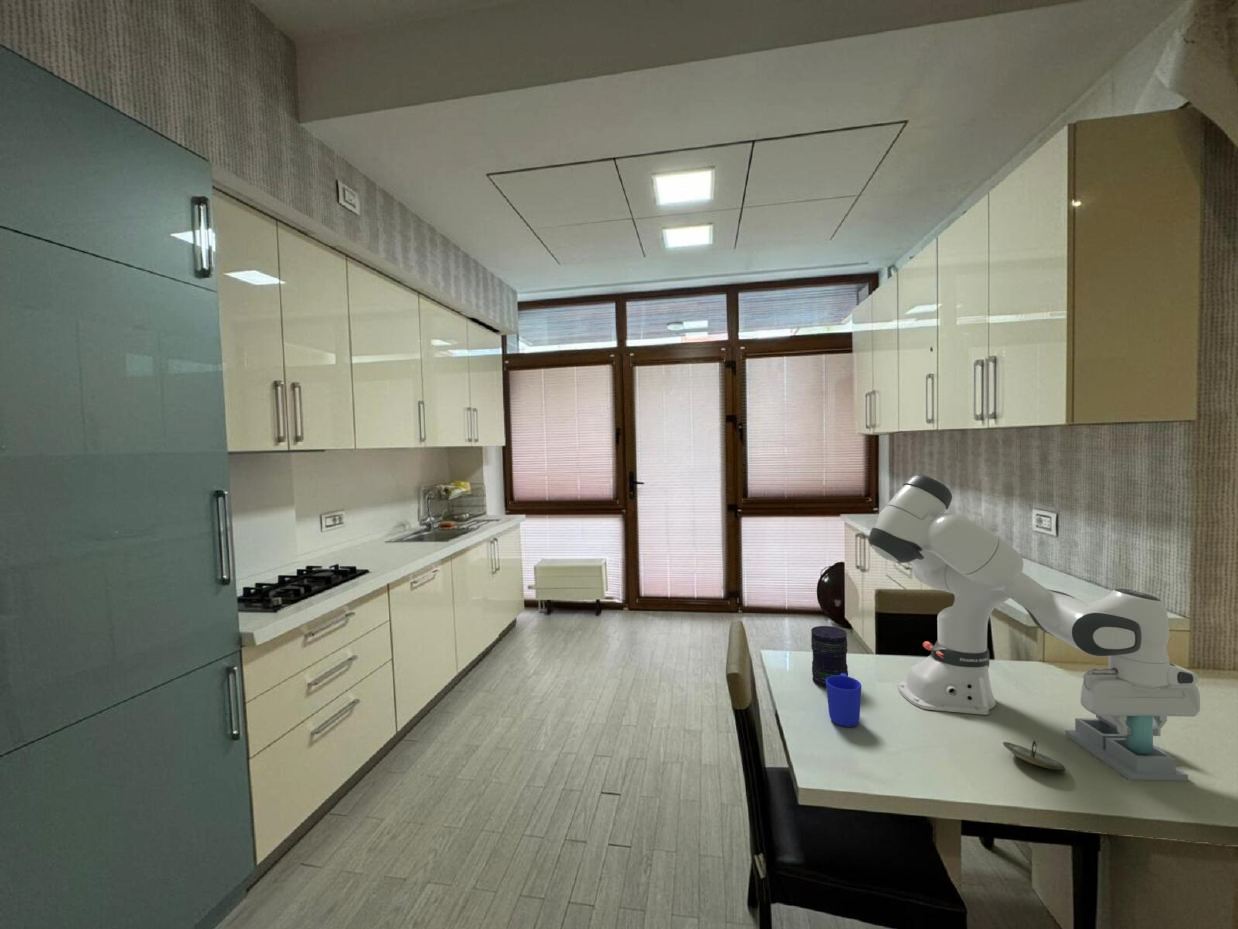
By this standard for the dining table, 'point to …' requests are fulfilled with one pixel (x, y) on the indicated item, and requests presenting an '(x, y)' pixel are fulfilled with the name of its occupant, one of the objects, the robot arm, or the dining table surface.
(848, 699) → the mug
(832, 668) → the storage jar
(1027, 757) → the lid
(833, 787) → the dining table surface
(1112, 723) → the slide lid
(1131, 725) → the jaw peg
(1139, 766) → the housing
